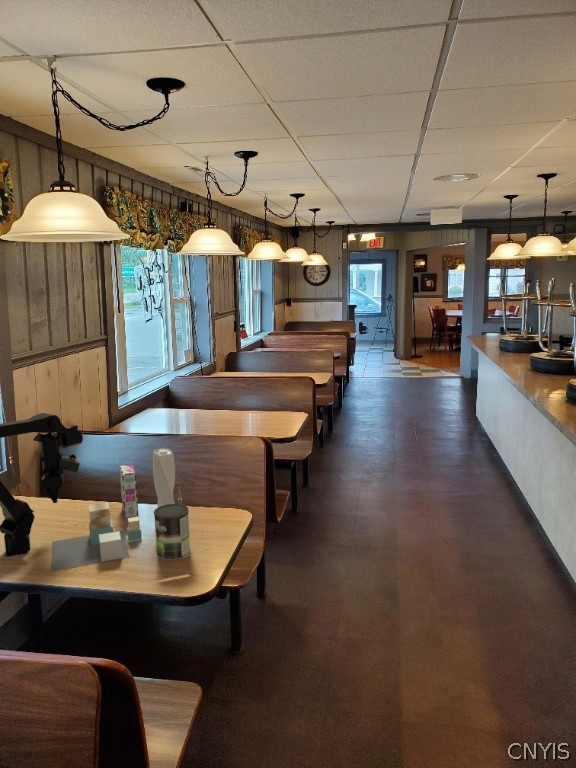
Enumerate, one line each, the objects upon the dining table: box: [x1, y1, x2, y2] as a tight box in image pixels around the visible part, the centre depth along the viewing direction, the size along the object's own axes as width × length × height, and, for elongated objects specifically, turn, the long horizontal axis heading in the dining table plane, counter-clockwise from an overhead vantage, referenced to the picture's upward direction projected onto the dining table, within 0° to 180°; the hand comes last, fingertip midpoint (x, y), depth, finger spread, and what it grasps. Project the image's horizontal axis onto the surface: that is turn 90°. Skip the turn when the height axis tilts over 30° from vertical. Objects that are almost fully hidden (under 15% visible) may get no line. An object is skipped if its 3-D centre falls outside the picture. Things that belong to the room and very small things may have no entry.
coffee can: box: [153, 503, 191, 561], centre depth 178 cm, size 10×10×14 cm
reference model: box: [125, 516, 144, 543], centre depth 189 cm, size 5×5×7 cm
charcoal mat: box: [50, 529, 130, 572], centre depth 182 cm, size 22×21×1 cm
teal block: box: [88, 518, 114, 545], centre depth 188 cm, size 7×7×5 cm
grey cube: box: [99, 530, 122, 562], centre depth 177 cm, size 6×6×6 cm
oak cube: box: [88, 501, 111, 530], centre depth 187 cm, size 6×6×6 cm
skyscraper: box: [152, 447, 183, 508], centre depth 198 cm, size 8×8×28 cm
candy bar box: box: [119, 464, 139, 519], centre depth 210 cm, size 11×5×16 cm, turn 21°
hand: (55, 497), depth 191 cm, fingers open, 9 cm apart
